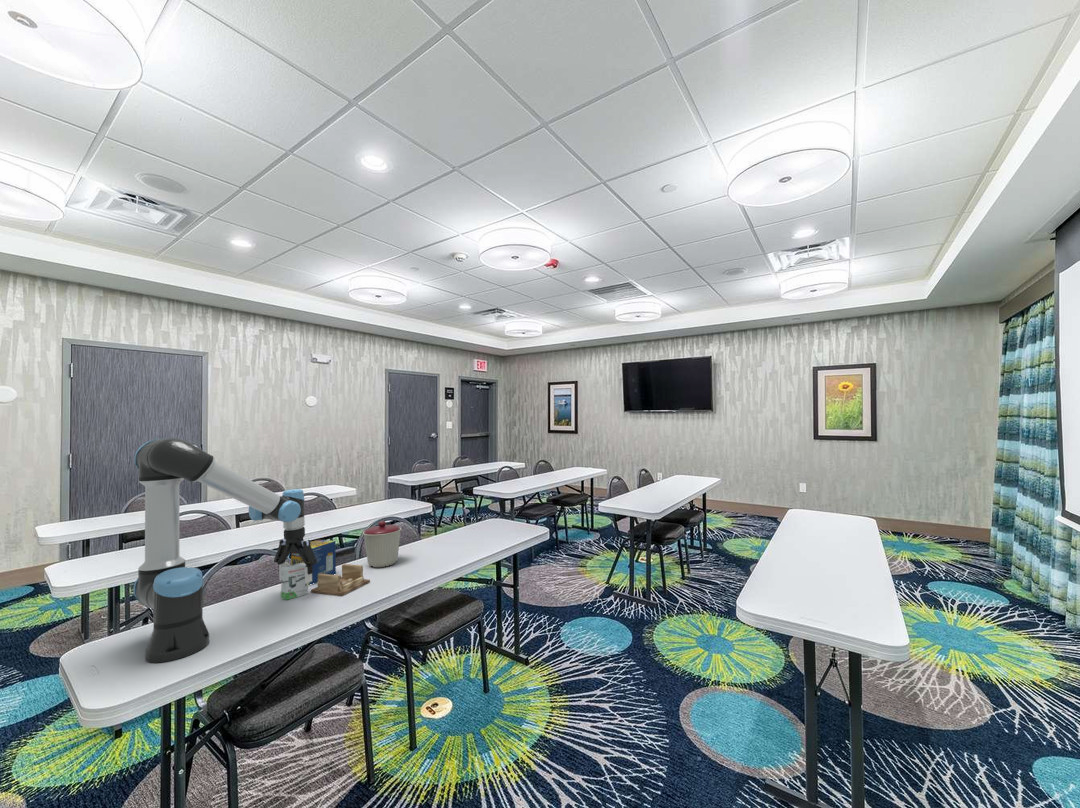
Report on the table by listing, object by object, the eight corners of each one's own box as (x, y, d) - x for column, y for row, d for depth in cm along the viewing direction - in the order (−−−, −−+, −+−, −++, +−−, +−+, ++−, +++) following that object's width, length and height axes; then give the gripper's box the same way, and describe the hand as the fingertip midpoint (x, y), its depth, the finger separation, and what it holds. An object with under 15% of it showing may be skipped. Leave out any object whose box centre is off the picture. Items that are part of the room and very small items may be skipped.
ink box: (285, 600, 172) (285, 569, 172) (280, 597, 175) (280, 567, 175) (308, 593, 178) (308, 564, 179) (303, 591, 181) (303, 562, 182)
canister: (383, 557, 226) (382, 516, 228) (410, 560, 219) (409, 518, 220) (354, 568, 210) (353, 523, 211) (382, 572, 202) (381, 525, 204)
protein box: (290, 584, 191) (290, 548, 192) (318, 572, 205) (318, 539, 206) (309, 586, 188) (308, 549, 188) (336, 574, 202) (336, 540, 203)
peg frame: (341, 596, 174) (341, 577, 174) (310, 592, 179) (310, 574, 179) (370, 582, 189) (369, 565, 189) (340, 579, 194) (340, 563, 194)
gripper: (325, 526, 177) (327, 579, 177) (279, 524, 186) (280, 575, 185) (310, 531, 170) (311, 586, 170) (263, 529, 179) (264, 582, 178)
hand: (295, 581), depth 177 cm, fingers open, 13 cm apart
